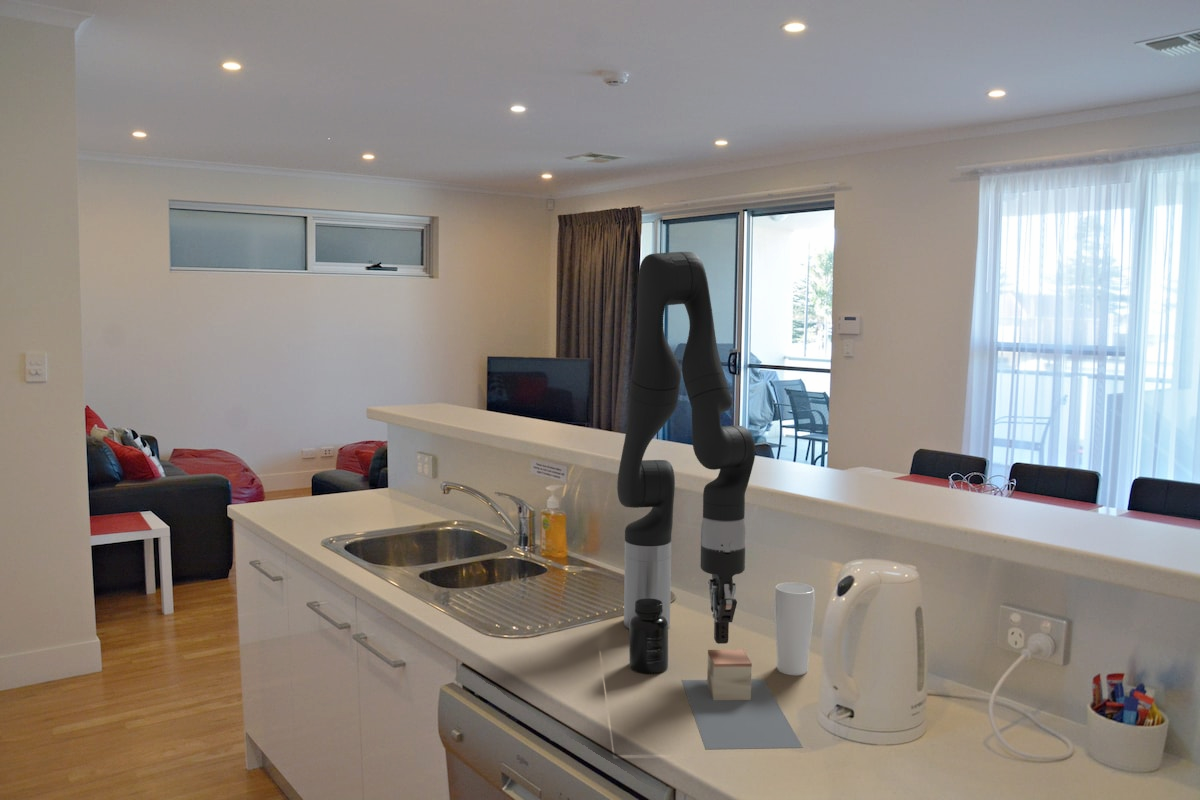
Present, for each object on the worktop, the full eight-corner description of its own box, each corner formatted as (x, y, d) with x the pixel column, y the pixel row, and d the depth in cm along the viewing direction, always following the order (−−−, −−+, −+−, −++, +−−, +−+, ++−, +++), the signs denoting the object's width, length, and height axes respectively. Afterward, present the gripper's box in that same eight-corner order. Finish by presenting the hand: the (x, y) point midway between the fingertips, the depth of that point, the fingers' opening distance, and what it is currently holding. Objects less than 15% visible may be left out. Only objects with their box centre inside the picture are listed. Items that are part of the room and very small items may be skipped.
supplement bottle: (671, 663, 158) (672, 598, 157) (663, 678, 152) (664, 610, 150) (633, 659, 160) (634, 594, 159) (624, 674, 153) (625, 606, 152)
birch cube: (707, 684, 148) (707, 649, 148) (742, 684, 149) (743, 649, 148) (713, 700, 142) (714, 663, 142) (750, 699, 143) (751, 663, 142)
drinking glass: (765, 666, 157) (767, 584, 156) (798, 661, 159) (800, 580, 158) (786, 681, 151) (788, 595, 149) (820, 676, 153) (822, 591, 152)
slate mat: (681, 682, 150) (681, 680, 150) (763, 681, 151) (763, 679, 151) (705, 751, 126) (705, 749, 126) (802, 750, 127) (803, 747, 127)
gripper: (694, 533, 157) (693, 629, 159) (707, 553, 144) (706, 656, 146) (736, 533, 158) (734, 628, 159) (753, 553, 145) (751, 656, 146)
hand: (721, 641), depth 153 cm, fingers closed
